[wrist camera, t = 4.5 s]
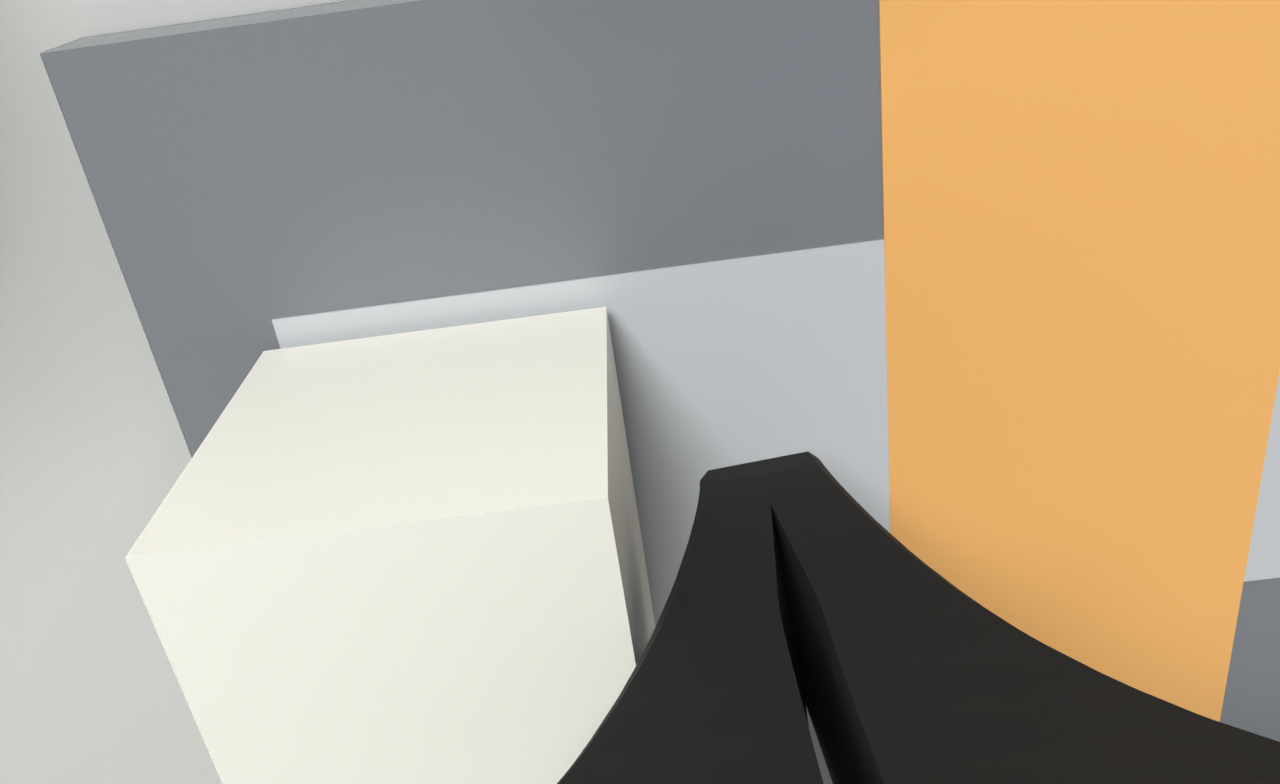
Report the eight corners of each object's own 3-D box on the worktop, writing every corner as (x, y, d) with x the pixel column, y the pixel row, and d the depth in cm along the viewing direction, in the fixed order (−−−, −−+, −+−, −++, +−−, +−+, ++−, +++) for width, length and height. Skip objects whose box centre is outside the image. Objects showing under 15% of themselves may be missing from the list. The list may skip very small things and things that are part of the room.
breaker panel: (1645, -181, 11) (1738, -184, 10) (1410, 675, 17) (1457, 724, 16) (82, 37, 12) (38, 53, 11) (352, 798, 17) (338, 853, 16)
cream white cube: (605, 306, 12) (607, 498, 9) (657, 643, 14) (676, 904, 11) (263, 350, 12) (125, 558, 9) (369, 678, 15) (292, 947, 11)
